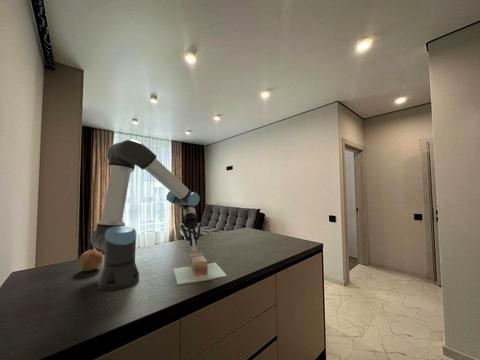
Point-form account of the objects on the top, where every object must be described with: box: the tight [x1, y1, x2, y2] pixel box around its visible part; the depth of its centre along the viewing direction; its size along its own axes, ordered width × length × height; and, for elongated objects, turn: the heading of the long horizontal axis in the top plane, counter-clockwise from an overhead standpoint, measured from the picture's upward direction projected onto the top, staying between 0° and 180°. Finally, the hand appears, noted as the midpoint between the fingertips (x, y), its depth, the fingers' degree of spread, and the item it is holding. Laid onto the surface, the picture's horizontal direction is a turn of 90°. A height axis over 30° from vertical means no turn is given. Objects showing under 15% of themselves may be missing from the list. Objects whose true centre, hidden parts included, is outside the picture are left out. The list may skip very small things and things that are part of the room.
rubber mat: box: [173, 262, 228, 286], centre depth 98 cm, size 18×22×1 cm
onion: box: [77, 249, 103, 272], centre depth 102 cm, size 10×10×10 cm
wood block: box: [188, 252, 209, 276], centre depth 101 cm, size 6×6×15 cm
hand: (194, 250), depth 111 cm, fingers closed
